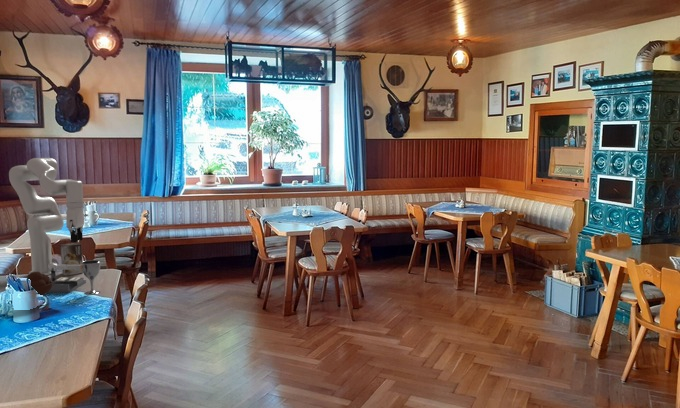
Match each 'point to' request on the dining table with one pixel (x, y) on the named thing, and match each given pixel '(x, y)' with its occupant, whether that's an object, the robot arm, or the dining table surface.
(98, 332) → the dining table surface
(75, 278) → the label
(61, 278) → the label
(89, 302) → the dining table surface
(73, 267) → the swing arm
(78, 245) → the coffee box
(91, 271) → the wine glass
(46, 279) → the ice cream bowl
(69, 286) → the psu chassis
